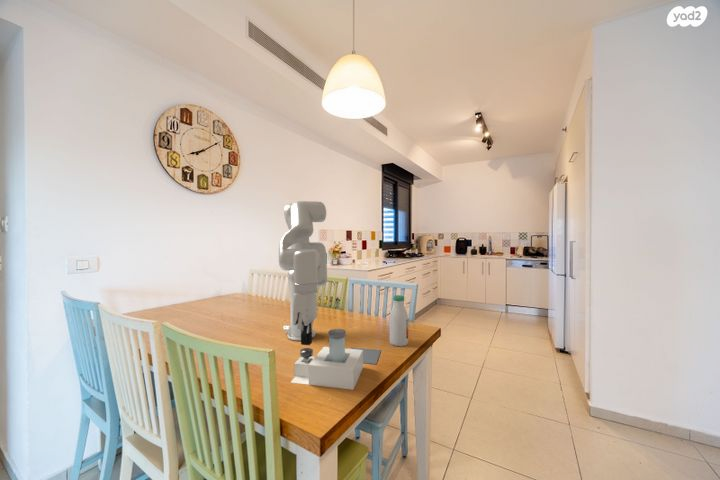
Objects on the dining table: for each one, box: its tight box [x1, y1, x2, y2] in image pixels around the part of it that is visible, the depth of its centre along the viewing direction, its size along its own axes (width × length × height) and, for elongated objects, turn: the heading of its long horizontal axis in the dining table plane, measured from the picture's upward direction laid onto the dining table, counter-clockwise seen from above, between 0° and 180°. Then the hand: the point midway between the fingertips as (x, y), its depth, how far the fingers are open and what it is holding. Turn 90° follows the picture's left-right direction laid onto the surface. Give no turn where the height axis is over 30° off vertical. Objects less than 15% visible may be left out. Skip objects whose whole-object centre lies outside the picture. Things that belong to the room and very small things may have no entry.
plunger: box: [299, 347, 314, 363], centre depth 94 cm, size 4×4×6 cm
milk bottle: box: [389, 294, 409, 347], centre depth 121 cm, size 8×8×20 cm
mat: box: [349, 347, 382, 366], centre depth 107 cm, size 12×12×1 cm
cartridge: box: [327, 328, 347, 363], centre depth 92 cm, size 6×6×14 cm
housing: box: [289, 346, 364, 391], centre depth 93 cm, size 20×14×7 cm
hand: (306, 343), depth 94 cm, fingers closed
